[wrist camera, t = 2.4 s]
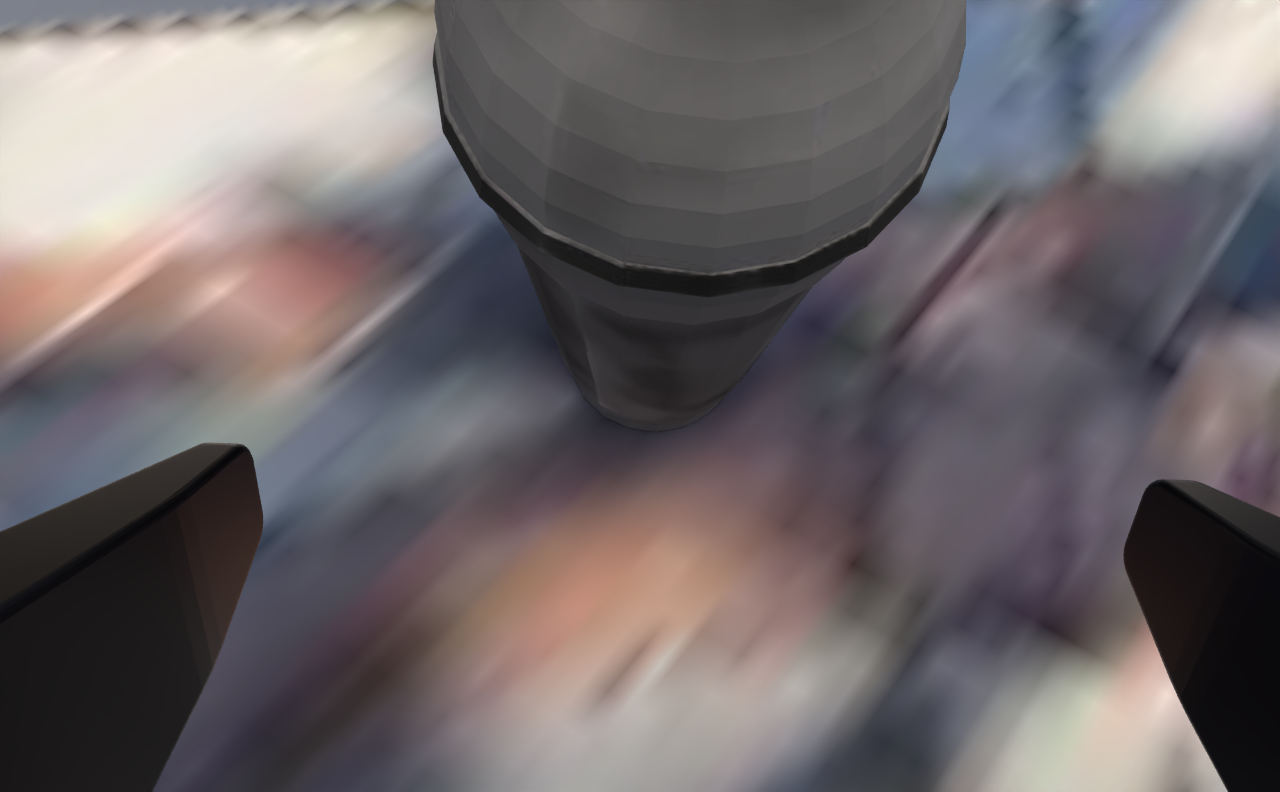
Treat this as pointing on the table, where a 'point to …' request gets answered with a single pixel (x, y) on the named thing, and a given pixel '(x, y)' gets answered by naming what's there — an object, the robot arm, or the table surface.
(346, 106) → the table surface
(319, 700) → the table surface
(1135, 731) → the table surface
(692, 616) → the table surface
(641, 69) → the beverage cup
